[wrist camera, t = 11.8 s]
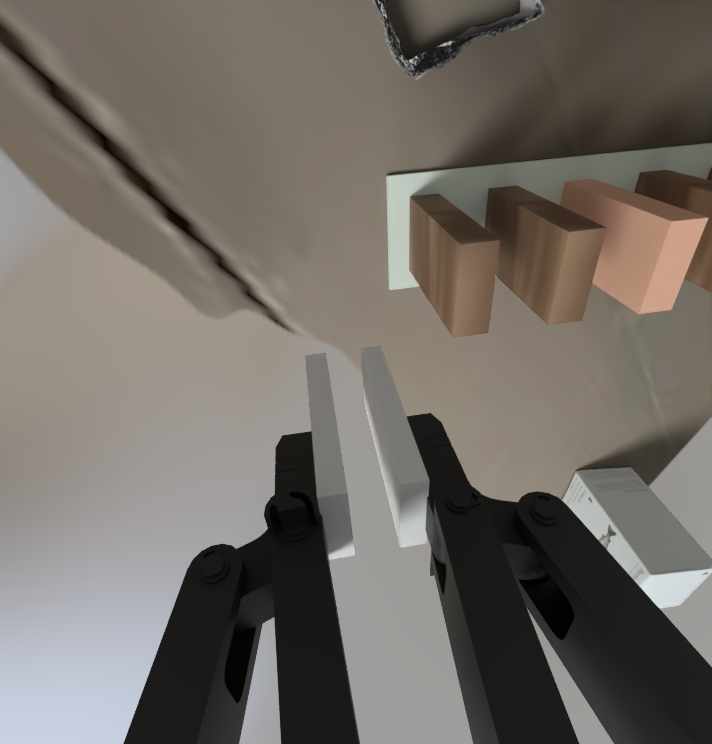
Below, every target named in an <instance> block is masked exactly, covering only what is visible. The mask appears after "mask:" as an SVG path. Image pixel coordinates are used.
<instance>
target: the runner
mask: <svg viewBox="0 0 712 744" xmlns="http://www.w3.org/2000/svg"><path fill="white" fill-rule="evenodd" d="M711 167H712V143H703V144H693V145H683V146H674V147H664V148H654V149H644V150H634V151H624V152H614V153H604V154H594V155H584V156H574V157H564V158H554V159H544V160H534V161H524V162H514V163H505V164H495V165H485V166H475V167H465V168H455V169H445V170H435V171H425V172H415V173H405V174H395V175H386V182H387V225H388V269H389V290H395V289H403V288H411V287H419V284H418V283H417V281H416V280H415V278H414V277H413V275H412V274H411V272H410V271H409V227H410V196H420V195H429V194H440V195H441V196H443V197H444V198H445V199H447V200H448V201H449V202H451V203H452V204H453V205H455V206H456V207H457V208H458V209H460V210H461V211H462V212H464V213H465V214H466V215H468V216H469V217H470V218H472V219H473V220H474V221H476V222H477V223H478V224H480V225H481V226H482V227H485V218H486V208H487V199H488V190H489V188H496V187H505V186H515V185H517V186H519V187H521V188H524V189H526V190H528V191H530V192H532V193H534V194H536V195H538V196H541V197H543V198H545V199H547V200H549V201H551V202H553V203H555V204H558V205H560V203H561V198H562V193H563V188H564V183H565V181H572V180H582V179H595V180H598V181H601V182H604V183H607V184H610V185H613V186H616V187H619V188H622V189H625V190H628V191H631V192H634V191H635V187H636V184H637V180H638V177H639V174H640V172H648V171H658V170H670V171H674V172H678V173H682V174H686V175H690V176H694V177H699V178H703V179H707V177H708V175H709V172H710V170H711ZM495 277H497V276H495Z"/></svg>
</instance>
